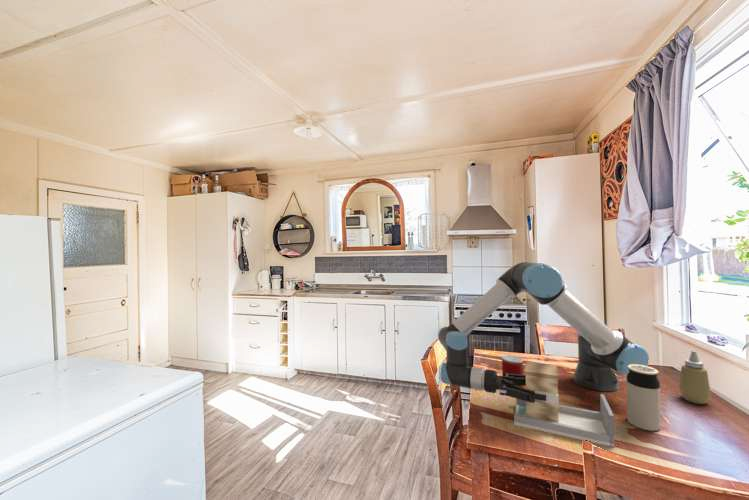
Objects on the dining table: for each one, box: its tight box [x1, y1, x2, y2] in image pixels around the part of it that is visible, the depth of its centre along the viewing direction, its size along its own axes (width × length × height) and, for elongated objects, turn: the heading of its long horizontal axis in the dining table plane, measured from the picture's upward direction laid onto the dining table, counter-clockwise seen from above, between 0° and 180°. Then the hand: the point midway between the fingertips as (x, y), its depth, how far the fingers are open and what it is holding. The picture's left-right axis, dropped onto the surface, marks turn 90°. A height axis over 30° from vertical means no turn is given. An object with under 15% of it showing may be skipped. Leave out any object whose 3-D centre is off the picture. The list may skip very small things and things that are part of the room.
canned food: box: [501, 354, 524, 388], centre depth 128 cm, size 8×8×11 cm
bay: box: [513, 393, 615, 448], centre depth 100 cm, size 26×14×9 cm, turn 63°
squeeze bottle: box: [678, 350, 711, 405], centre depth 113 cm, size 8×8×18 cm
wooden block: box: [524, 360, 560, 423], centre depth 102 cm, size 9×9×16 cm
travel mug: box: [626, 364, 661, 432], centre depth 98 cm, size 8×8×18 cm
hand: (557, 392), depth 100 cm, fingers closed on wooden block, 9 cm apart
